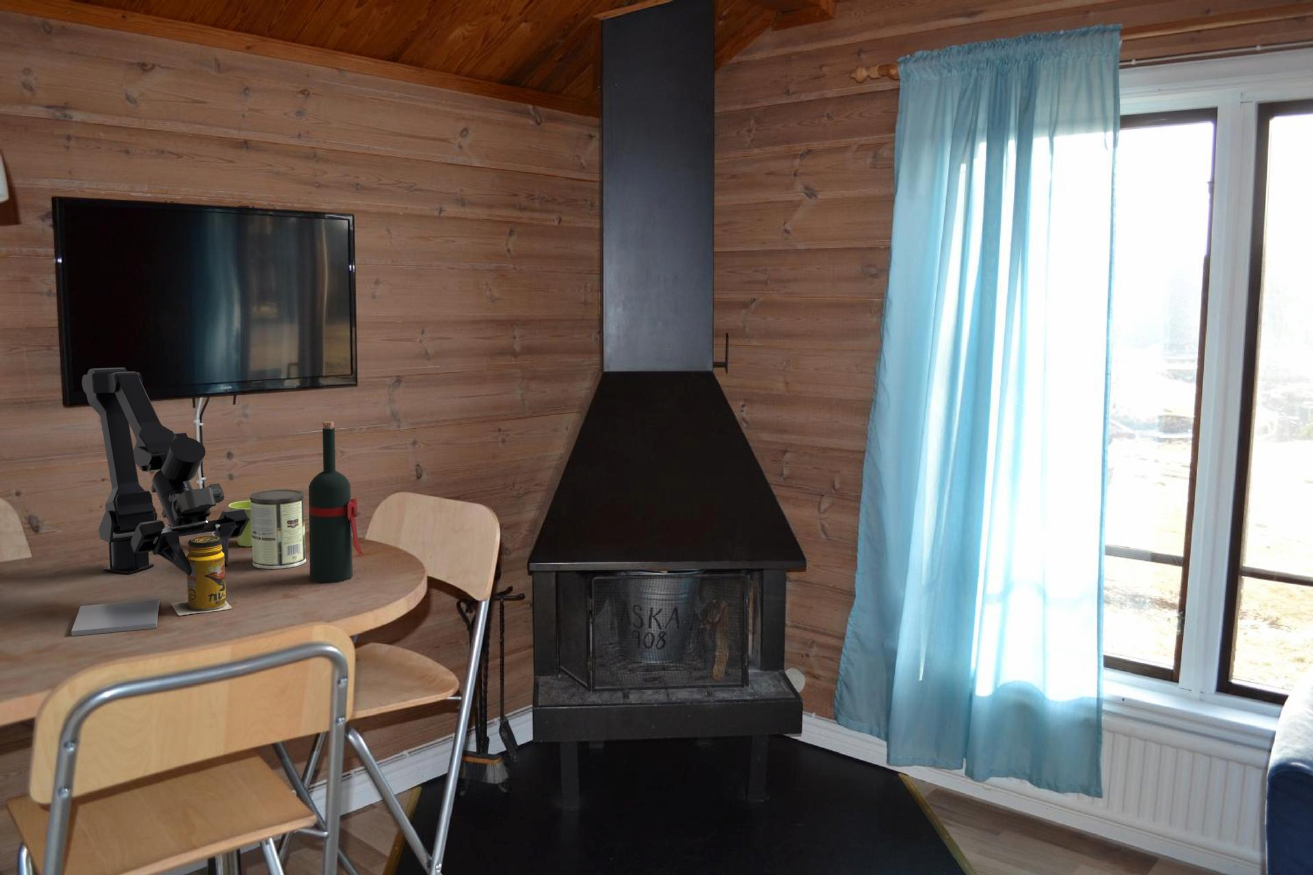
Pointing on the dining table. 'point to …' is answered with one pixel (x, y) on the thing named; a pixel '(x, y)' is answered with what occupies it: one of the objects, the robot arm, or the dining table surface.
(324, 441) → the wine bottle
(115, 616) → the board
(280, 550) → the coffee can
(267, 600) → the dining table surface
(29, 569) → the dining table surface
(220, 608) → the condiment
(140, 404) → the robot arm
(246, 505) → the plant pot
